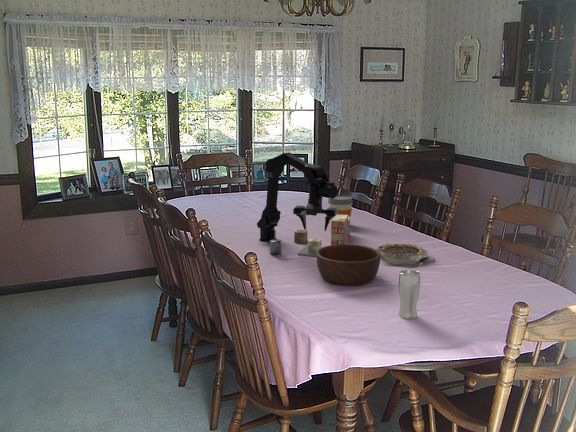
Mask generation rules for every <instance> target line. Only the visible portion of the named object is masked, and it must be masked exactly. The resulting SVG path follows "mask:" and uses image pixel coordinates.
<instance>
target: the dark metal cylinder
mask: <svg viewBox="0 0 576 432" xmlns="http://www.w3.org/2000/svg"><path fill="white" fill-rule="evenodd" d="M270 254H271V255H270ZM269 255H270V256H280V255H282V240H281V239H280V238H279V239H277V238H275V239H272V240H270V241H269Z"/></svg>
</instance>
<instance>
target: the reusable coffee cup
mask: <svg viewBox="0 0 576 432" xmlns="http://www.w3.org/2000/svg"><path fill="white" fill-rule="evenodd" d="M327 199H328V200H327V201H328V202H327V203H328V208H337V210H338V213H337V214H338V215H348V217H350V218H351V216H352V210H353V208H352V204H353V197H352V196H350V195H346V194H337V196H336V197H335V198H334V199H332V198H327ZM333 218H334V217H333ZM333 218H331V219H330V221H331V220H332V219H333Z"/></svg>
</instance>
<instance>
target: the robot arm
mask: <svg viewBox="0 0 576 432" xmlns="http://www.w3.org/2000/svg"><path fill="white" fill-rule="evenodd" d="M286 165H289V166H291V167H292V168H294V169H296V170H298V171H299V172H301V173H302V174H303V177H305V178H306V179H307V181H306V182H305V185H308V198H307V199H308V200H307V204H306V206H305V205H296V206H294V208H293V210H292V212H293V213H292V214H294V215H296V217H298V218H299V219H300V221H301V223H302V226H303V230H307V216H313V217H316V216H317V215H318V214H321V215H322V214H323V215H325V217H324V220H325V222H324V232H327V229H328V228H329V227H328V226H329V224H330V222H331V218H333V217H335V216H336V215H337V213H338V210H337V208H329V207H328V208H327V209H324V208H323V198H327V199H329V198H332V199H334V198H335V197H336V196H337V195H338V191H339V190H338V187H337V186H336V185H335V182H334V181H332V182H331V181H330V180H329V177H328V175H327V173H326V172H325V169H324V167H323V166H320V165H318V164H315V163H314V164H313V163H310V162H306V161H305V160H303V159H301V158H299V157H298V156H296V155H294V154H293V153H291V152H283V153H281V154H279V155H277V156H274V157H273V158H268V159H267V160H266V161H265V173H266V175H267V178H268V181H267V189H266V200H265V201H266V203H265V206H264V209H263V210H262V212H261V213H262V214H261V218H260V219H259V220H258V221H257V223H256V226H257V229H259V231H260V232H259V233H260V234H259V235H260V236H259V239H258V241H263V242H270V240H272V239H277V233H276V232H277V231H276V229H275V227H278V223H279V222H280V220H281V210H279V209H278V206H277V205H278V196H279V195H278V194H279V185H280V184H279V183H280V177H281V175H282V174H283V173H284V172H283V171H284V168H285V166H286Z"/></svg>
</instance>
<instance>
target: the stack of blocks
mask: <svg viewBox="0 0 576 432" xmlns="http://www.w3.org/2000/svg"><path fill="white" fill-rule="evenodd" d="M330 226H331V227H330V231H331V232H330V245H338V244H347V242H348V240H349V238H350V236H351V217H348V215H338V214H337V215H336V216H335V217H334V218H333V219H332V220H331V219H330Z"/></svg>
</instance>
